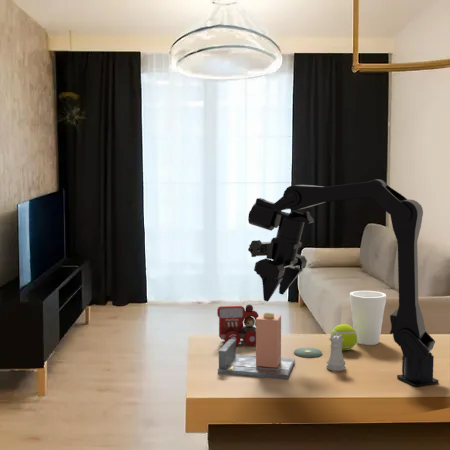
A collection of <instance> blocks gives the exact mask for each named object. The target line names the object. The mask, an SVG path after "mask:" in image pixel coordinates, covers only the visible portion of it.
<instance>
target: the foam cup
mask: <svg viewBox="0 0 450 450" xmlns="http://www.w3.org/2000/svg"><path fill="white" fill-rule="evenodd" d="M349 303H350V311H351V318H352V319H351V320H352V326H353V328H354V330H355V331H356V334H357V342H356V344H358V345H365V346H374V345H378V344H379V343H380V340H381V332H382V328H383V327H382V326H383V320H384V312H385V307H386V306H385V305H386V304H387V294H386V293H384V292H381V291H377V290H376V291H374V290H356V291H354V290H353V291H351V292H350V293H349Z"/></svg>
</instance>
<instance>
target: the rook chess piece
mask: <svg viewBox="0 0 450 450" xmlns="http://www.w3.org/2000/svg"><path fill="white" fill-rule="evenodd" d="M343 340H344V339H343V338H342V335H341V334H339V336H338V334H336V336H335V334H332V335H331V334H330V337H329V341H330V343H331V344H330V345H329V346H330V348H331V349H330V354H329V357H328V359H327V361H326V364H327V365H326V368H327V369H328V370H329V371H332V372H343V371H344V370H346V368H347V367H346V360H344V357H343V350H342V341H343Z"/></svg>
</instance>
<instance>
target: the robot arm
mask: <svg viewBox="0 0 450 450" xmlns="http://www.w3.org/2000/svg"><path fill="white" fill-rule="evenodd" d="M367 198H371V199H373V200H374V201H375V202H376V203H377V204H378V205H379V206H380V207H381V208H382V209H383V210H384V211H385V212H387V214H389V216H390V221H391V225H392V231H393V233H394V236H395V239H396V243H397V271H398V272H397V275H398V276H397V277H398V278H397V280H398V282H397V283H398V308H397V309H396V310H394V311H393V312H392V313H391V314H390V315H389V319H390V325H391V326H390V327H391V329H390V330H389V331H390V332H389V334H390V335H392V338H393V341H394V342H395V343H396V344H397V345H398V346H399V347H400V350H401V353H402V356H401V357H402V359H401V360H402V361H401V363H402V364H401V373H402V374H397V375H396V378H397V379H399V380H401V381H403V382H405V383H407V384H409V385H411V386H412V387H413V386H414V387H421V386H428V385H433V384H438V383H439V379H436V378H435V377H434V357H435V356H434V355H433V353H431V351H432V350H433V349H434V347H435V343H436V340H435V338H433V337H432V336H431V335H430V334H429V333H428V332H427V331H426V326H425V322H424V316H423V312H422V309H421V307H420V303H419V271H418V270H419V266H418V261H419V260H418V257H419V256H418V239H419V236H420V231H421V229H422V228H421V227H422V223H423V222H422V221H423V215H424V210H423V207H422V205H421V204H420V203H419V202H418V201H417V200H414V199H410V198H409V199H408V198H407V197H406V196H404V195H403V194H402V193H400V192H398V191H397V190H396V189H394V188H392V187H391V186H389V185H388V184H387V183H386V181H384V180H383V179H371V180H369V181H362V182H354V183H353V182H352V183H345V184H337V185H335V184H334V185H329V186H328V185H327V186H322V185H312V184H294V185H289V186H288V187H286V189H285V190H284V192H283V194H282V196H281V198H279V199H277V201H275V202H273V201H268V200H267V199H265V198H262V197H258V198H255V203H254V204H253V205H252V207H251V209H250V210H249V212H248V217H247V218H248V220H247V221H248V224H250V225H251V226H255V227H259V228H262V229H263V230H264V229H265V230H267V231H270V232H271V231H273V230H275V229H277V233H276V236H275V237H273V238H271V239H270V241H261V240H260V239H258V240H252V241H251V243H250V244H249V245H248V249H247V250H248V252H249V254H250V255H251V257H252V258H256V257H263V256H266V258H263V259H260V260H258V261H256V262H255V263H254V268H253V271H254V272H255V273H256V275H258V276H259V277H260V278H261V282H262V293H263V297H262V298H263V301H264V302H269V301H270V299H271V298H272V296H273V295H274V293H275V292H276V290H277V288H278V287H279V288H278V293H279V295H285V293H286V292H287V290H288V289H289V288H290V287H291V285H292V284H293V283H294V281H295V280H296V279H297V278H298V276H300V274H301V273H302V272H303V270H304V269H306V265H307V263H308V260H307V258H306V257H305V256H304V255H301V254H298V250H299V248H301V247H302V245H303V242H301V237H302V234H303V230H304V226H305V224H312V223H314V222H315V220H314V218H313V216H312V215H311V213H310V211H306V212H304V213H302V212H298V210H302V209H303V210H304V209H307V208H311V207H312V208H313V207H314V206H318V205H321V204H324V203H330V202H340V201H347V200H357V199H367ZM285 210H291V211H290V212H286V211H285Z"/></svg>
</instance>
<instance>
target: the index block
mask: <svg viewBox="0 0 450 450" xmlns="http://www.w3.org/2000/svg"><path fill="white" fill-rule="evenodd" d="M258 315H259V316H258V317H257V319H256V326H255V327H256V345H255V356H256V366H263V367H276V368H277V367H278V366H279V364H280V362H281V358H282V315H280V314H274V313H273V312H263V314H262V313H260V314H258Z"/></svg>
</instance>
